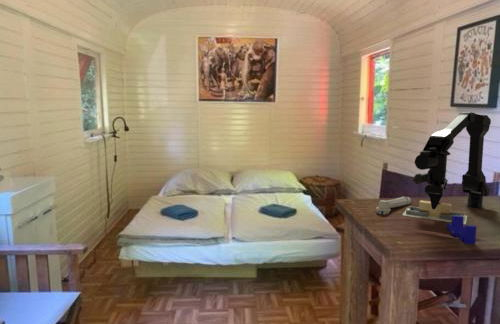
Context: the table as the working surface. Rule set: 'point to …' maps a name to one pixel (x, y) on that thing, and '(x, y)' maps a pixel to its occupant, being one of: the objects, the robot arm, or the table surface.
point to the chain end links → (416, 211)
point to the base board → (433, 217)
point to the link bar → (440, 209)
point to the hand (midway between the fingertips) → (435, 206)
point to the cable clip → (462, 230)
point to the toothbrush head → (392, 204)
